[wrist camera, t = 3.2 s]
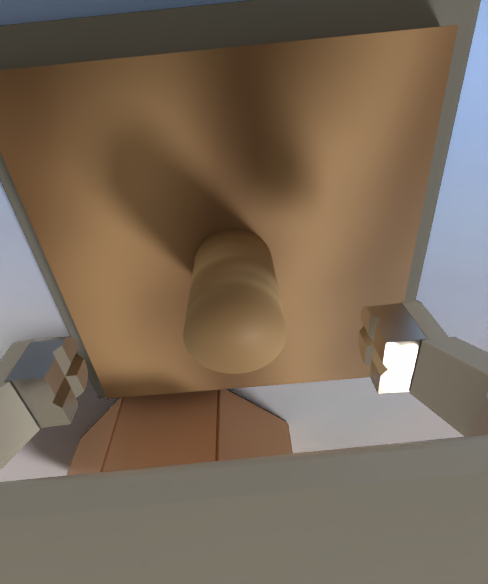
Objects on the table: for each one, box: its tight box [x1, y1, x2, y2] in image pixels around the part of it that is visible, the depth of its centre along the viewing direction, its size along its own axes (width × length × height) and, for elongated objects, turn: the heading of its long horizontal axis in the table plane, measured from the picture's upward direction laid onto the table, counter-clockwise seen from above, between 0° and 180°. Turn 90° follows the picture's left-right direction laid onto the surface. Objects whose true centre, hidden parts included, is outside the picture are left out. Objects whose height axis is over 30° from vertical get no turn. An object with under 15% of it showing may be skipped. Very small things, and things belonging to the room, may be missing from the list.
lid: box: [0, 25, 458, 399], centre depth 12 cm, size 13×13×5 cm
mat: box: [0, 0, 481, 398], centre depth 14 cm, size 15×15×1 cm
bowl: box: [67, 389, 293, 475], centre depth 20 cm, size 12×12×5 cm
